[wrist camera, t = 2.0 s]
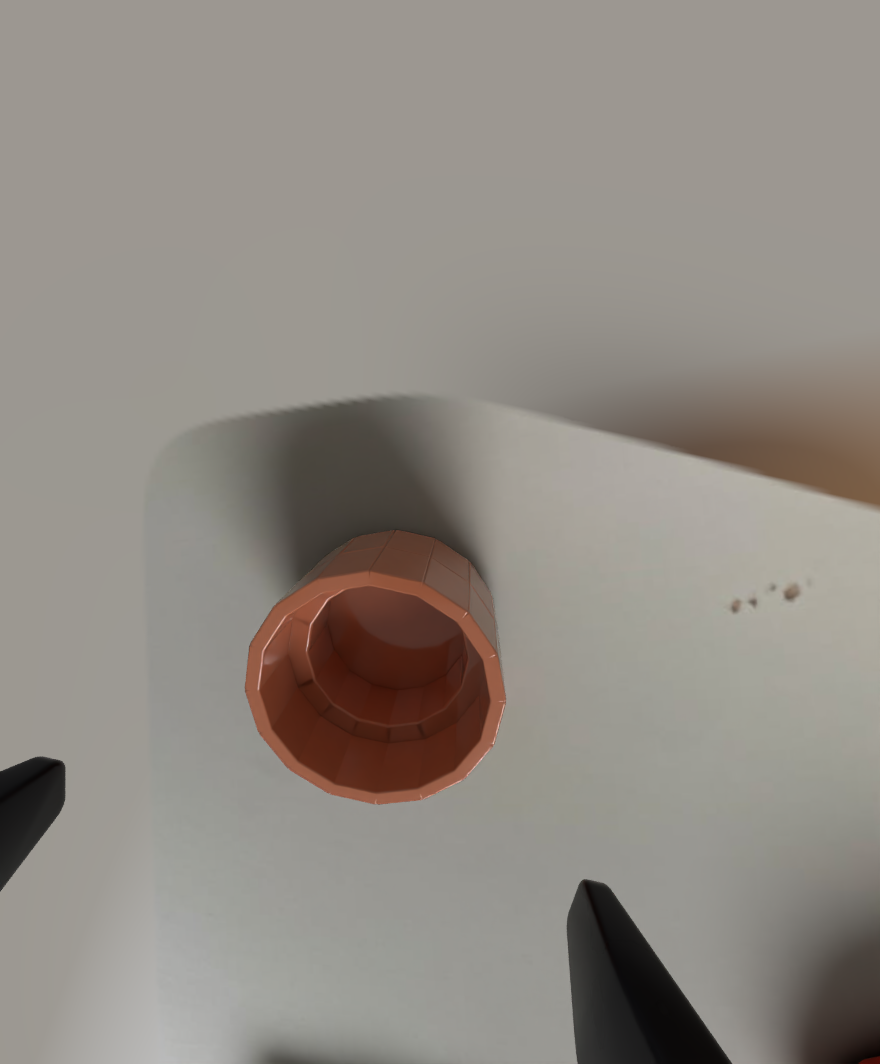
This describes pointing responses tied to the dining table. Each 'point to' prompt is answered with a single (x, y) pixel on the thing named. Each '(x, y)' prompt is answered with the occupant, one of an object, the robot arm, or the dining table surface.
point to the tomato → (871, 1060)
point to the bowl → (380, 670)
